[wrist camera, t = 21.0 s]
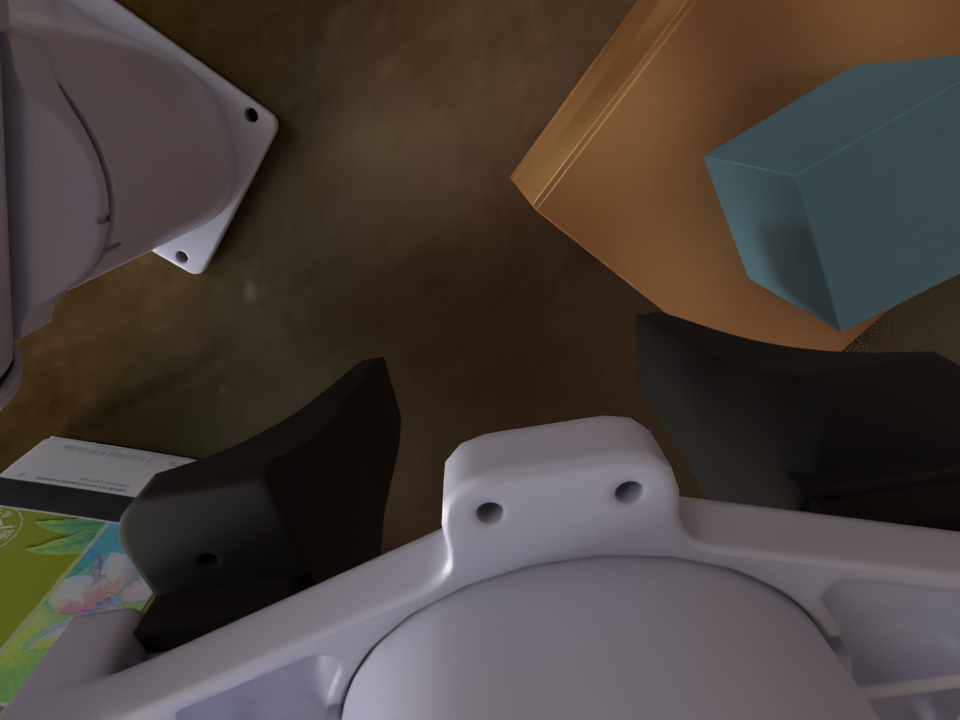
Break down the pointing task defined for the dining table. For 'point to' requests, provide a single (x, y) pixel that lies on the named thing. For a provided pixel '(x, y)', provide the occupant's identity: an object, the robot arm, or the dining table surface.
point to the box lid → (708, 125)
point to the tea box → (65, 544)
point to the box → (594, 93)
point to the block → (850, 190)
